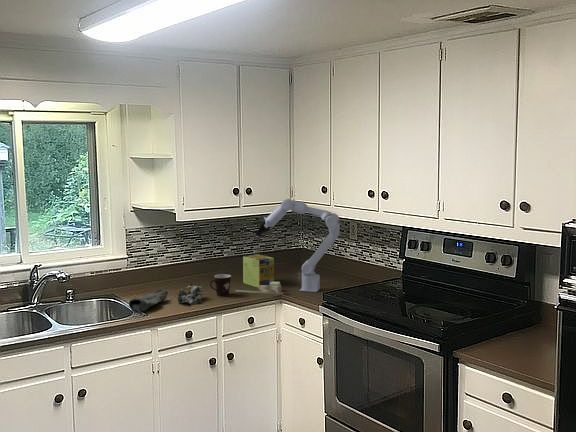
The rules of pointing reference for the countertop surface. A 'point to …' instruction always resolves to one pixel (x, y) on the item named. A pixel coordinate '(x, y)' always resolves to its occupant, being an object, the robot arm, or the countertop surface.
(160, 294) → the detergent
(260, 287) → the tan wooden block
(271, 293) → the rail
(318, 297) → the countertop surface
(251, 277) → the protein box
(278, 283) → the marked cube
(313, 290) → the robot arm
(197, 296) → the foil
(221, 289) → the coffee mug
